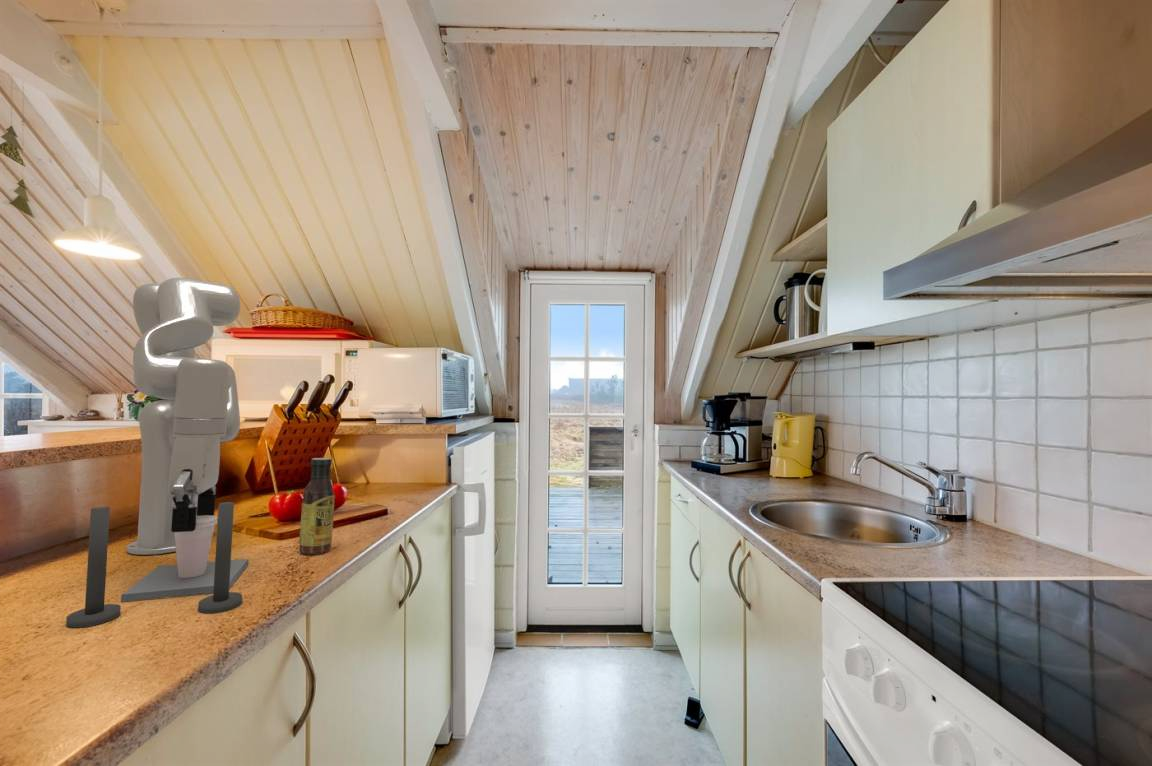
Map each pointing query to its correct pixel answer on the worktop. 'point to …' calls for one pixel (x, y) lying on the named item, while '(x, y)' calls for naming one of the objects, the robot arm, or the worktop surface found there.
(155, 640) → the worktop surface
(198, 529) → the smoothie
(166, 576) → the slate board
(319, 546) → the sauce bottle
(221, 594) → the post
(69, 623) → the post
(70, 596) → the worktop surface
